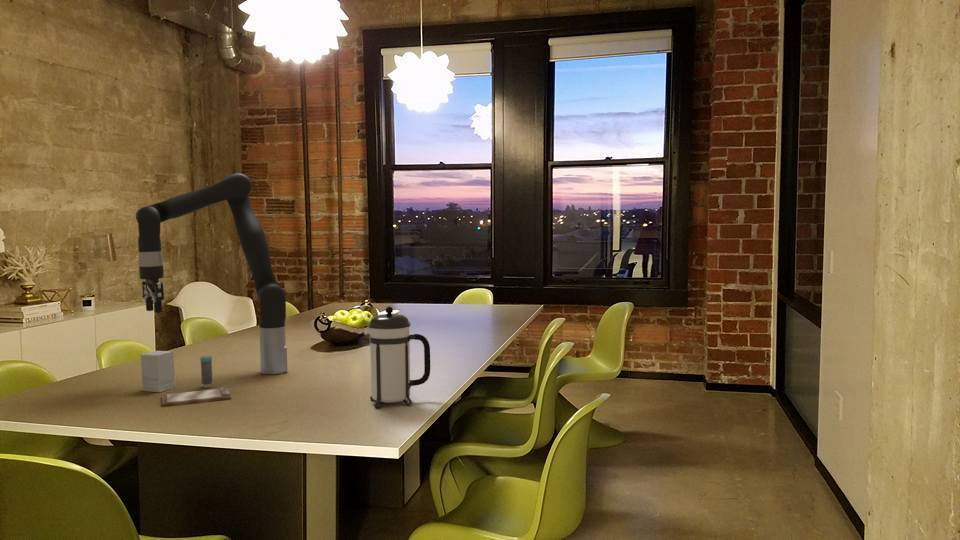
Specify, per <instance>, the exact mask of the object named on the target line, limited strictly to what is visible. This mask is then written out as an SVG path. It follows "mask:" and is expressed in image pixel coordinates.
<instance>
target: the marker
mask: <svg viewBox="0 0 960 540" xmlns="http://www.w3.org/2000/svg"><path fill="white" fill-rule="evenodd" d="M199 358H200V371H201V372H200V373H201V374H200V376H201V377H200V378H201V384H203V385H202V387H204V388H203V389H208V388H209V387H210V388H211V387H212V383H213V365H212V363H213V362H212V361H213V357H212V355H204V356H203V355H202V356H200V357H199Z"/></svg>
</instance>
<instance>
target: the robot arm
mask: <svg viewBox="0 0 960 540" xmlns="http://www.w3.org/2000/svg"><path fill="white" fill-rule="evenodd" d="M252 186H253V184H252V181H251V179H250V178H249V177H248V176H247V175H245V174H243V173H241V172H239V173H238V172H235V173H231V174H228V175H227V176H226V177H224V179H222V180H221V181H218V182H217V183H214V184H211V185H208V186H205V187H202V188H199V189H196V190H192V191H188V192H185V193H182V194H178V195H176V196H172V197H170V198H167V199H165V200H163V201H159V202H156V203H153V204H149V205H147V206H144V207H143V206H142V207H140V208H139V209H138V210H137V211H136V213H135V219H136V222H137V225H138V237H137V238H138V240H137V244H138V257H137V259H138V271H139V272H138V273H139V274H138V275H139V279H140V280H141V286H142V287H141V289H142V298H143V299H144V301H145V310H146V311H147V312H152V311H154V313H155V314H161V313H163V307H162V306H163V304H162V303H163V301H164V300H165V294H164V283H163V282H162V281H161V282H160V280H159V279H163V278H164V277H165V271H164V258H163V253H162V252H163V251H162V241H161V224H162V223H164V222H166V221H168V220H173V219H177V218H180V217H183V216H186V215H189V214H192V213H194V212H197V211H199V210H202V209H203V208H207V207H209V206H211V205H214V204H217V203H220V202H223V201H226V202H227V203H228V204H227V205H228V206H229V208H230V210H231V213H232V217H233V220H234V225H235V228H236V233H237V236H238V240H239V243H240V246H241V247H240V248H241V250H242V253H243V254H244V258H245V261H246V263H247V265H248V267H249V270H250V272H251V274H252V277H253V281H254V285H255V290H256V297H257V300H258V302H259V314H260V315H259V320H258V321H259V326H258V327H259V353H260V354H259V355H260V357H259V358H260V373H261V374H263V375H277V374H278V375H279V374H283V373H288V347H287V345H286V342H287V341H286V319H287V318H286V317H287V300H286V299H287V297H286V293H285V290H284V289H283V288H282V287H281V286H280V285H279V283H278V282H277V279H276V276H275V275H274V271H273V267H272V261H271V252H270V251H271V250H270V247H269V243H268V240H267V237H266V233H265V231H264V228H263V226H262V224H261V222H260V221H259V219H258V217H257V216H256V214H255V212H254V210H253V206H252V204H251V200H250V199H251V198H250V195H249V194H250V193H251V192H252V188H253V187H252ZM142 280H143V281H142Z"/></svg>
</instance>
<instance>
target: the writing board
mask: <svg viewBox="0 0 960 540" xmlns="http://www.w3.org/2000/svg"><path fill="white" fill-rule="evenodd" d="M228 400H232V395H231V393H230V390H229V388H228V386H222V387H219V388H215V389H204V390H195V391H186V392H185V391H183V392H177V393H176V392H175V393H167V394H166V393H165V394H161V407H162V408H163V407H165V408H166V407H171V406H180V405H181V406H182V405H184V406H185V405H193V404H201V403H210V402H219V401H228Z"/></svg>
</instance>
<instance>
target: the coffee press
mask: <svg viewBox="0 0 960 540" xmlns="http://www.w3.org/2000/svg"><path fill="white" fill-rule="evenodd" d="M385 312H386V313H385V314H378V315H375V316H373V317H372V318H371V319H370V320H369V323H368V326H367V327H366V328H365V331H364V333H363V334H364V335H369V336H368V339H369V340H368V341H369V344H370V345H369V347H370V348H369V350H370V351H369V353H370V354H369V355H370V396H369V398H370V401H371V402H373V401H375V404H374V408H375V409H381V408H382V407H383V405H384V403H385V404H386V403H389V404H390V403H399V402H403V403H404V404H405V406H407V407H409V406H412V404H413V401H412V399H411V397H410V396H411V387H415V386H420V385H423V384H425V383H426V382H427V381H428V380H429V378H430V375H431V347H430V342H429V341H428V339H427V337H426V336H425V335H422V334H419V333H414V334H410V327H411V322H410V320H409V318H408V317H407V316H405V315H403V314H397V313H393V312H394V309H393V307H392V306H387V307H386V308H385ZM411 340H415V341H420V342H421V343H422V344H423V358H424V359H423V360H424V362H423V363H424V366H423V367H424V372H423V375H422V377H420V378H418V379H413V380H412V379H411V363H410V362H411V360H410V357H411V356H410V353H411V351H410V350H411V349H410V342H411Z"/></svg>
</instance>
